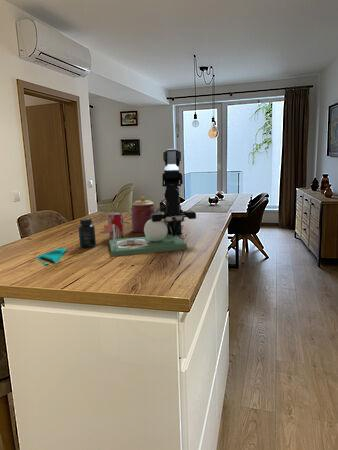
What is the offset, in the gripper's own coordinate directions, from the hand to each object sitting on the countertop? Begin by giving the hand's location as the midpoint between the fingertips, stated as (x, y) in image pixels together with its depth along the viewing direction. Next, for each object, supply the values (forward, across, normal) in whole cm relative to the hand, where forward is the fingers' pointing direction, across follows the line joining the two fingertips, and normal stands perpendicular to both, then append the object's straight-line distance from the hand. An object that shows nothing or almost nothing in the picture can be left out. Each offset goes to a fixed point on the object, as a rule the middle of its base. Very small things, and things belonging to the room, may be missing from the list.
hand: (173, 236), depth 143 cm
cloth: (+4, +50, +2) cm, 50 cm away
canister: (+3, +8, -33) cm, 35 cm away
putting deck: (+4, +12, 0) cm, 13 cm away
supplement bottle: (+4, +36, -9) cm, 38 cm away
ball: (-3, +8, 0) cm, 8 cm away
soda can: (+4, +23, -20) cm, 31 cm away
